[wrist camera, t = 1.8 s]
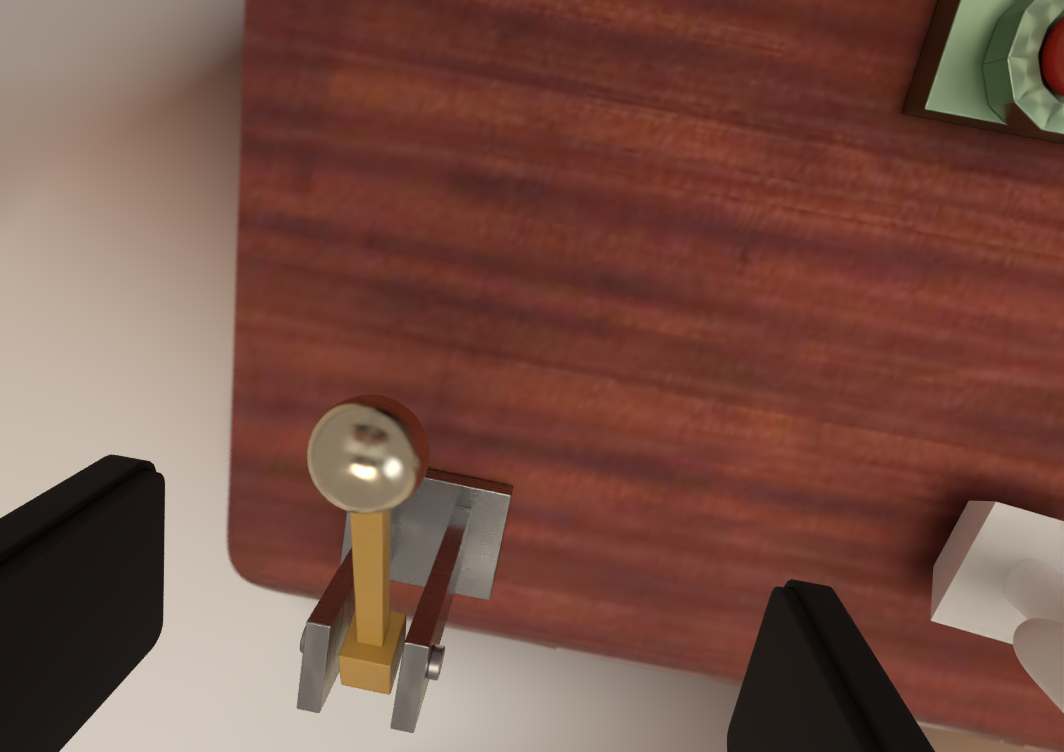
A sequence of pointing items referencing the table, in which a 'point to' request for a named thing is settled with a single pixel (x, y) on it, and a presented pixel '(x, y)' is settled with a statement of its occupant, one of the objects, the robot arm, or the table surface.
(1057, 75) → the button
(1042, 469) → the table surface
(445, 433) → the table surface
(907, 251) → the table surface
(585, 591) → the table surface
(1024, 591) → the figurine
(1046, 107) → the button box
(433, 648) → the bracket
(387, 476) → the lever
